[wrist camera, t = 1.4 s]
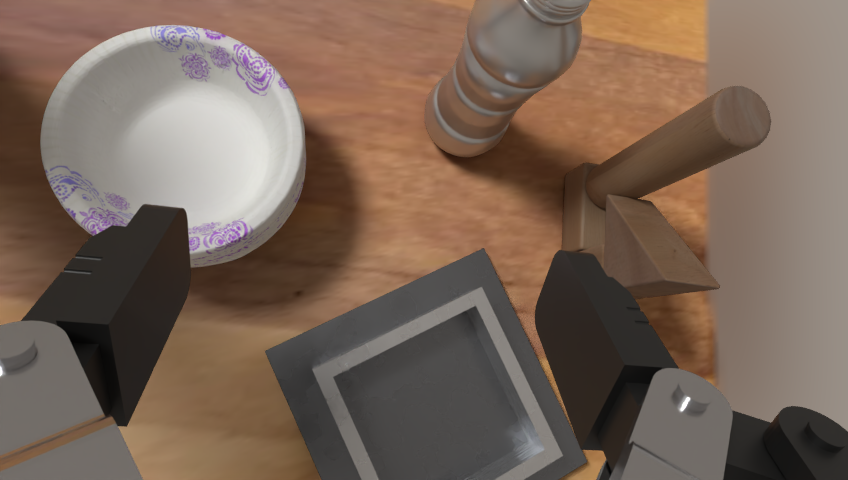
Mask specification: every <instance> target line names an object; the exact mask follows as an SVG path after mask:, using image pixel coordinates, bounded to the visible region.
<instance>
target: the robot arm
mask: <svg viewBox="0 0 848 480" xmlns="http://www.w3.org/2000/svg"><path fill="white" fill-rule="evenodd" d="M190 279H191V264H190V249H189V235H188V220H187V213H186V211H185V209H184V208H178V207H169V206H160V205H151V204H143V205H142V206H141V207H140V208H139V210H138V211H137V212H136V214H135V215H134V216H133V218H132V219H131V220H130V222H129V223H128V225H127V226H116V225H112V226H110V227H108V228H107V229H105V230H103V231H101V232H99V233H98V234H96V235H94V236H92V237H91V238H89V239H88V240H87V242H86V243H85V244H84V245H83V246H82V248H81V249H80V250H79V251H78V253H77V254H76V257H75V258H73V259H72V260H71V261H70V262H69V263H68V265H67V266H66V267H65V268H64V272H61V273H60V274H59V276H58V277H57V278H56V279H55V280H54V282H53V283H52V284H51V285H50V286H49V288H48V289H47V290H46V291H45V293H44V294H43V295H42V296H41V297H40V299H39V300H38V301H37V302H36V303H35V305H34V306H33V307H32V308H31V309H30V311H29V312H28V313H27V314H26V316H25V317H24V318H23V319H22V320H21V321H19V322H12V323H8V324H4V325H0V480H143V479H142V477H141V475H140V472H139V470H138V468H137V466H136V464H135V462H134V460H133V458H132V456H131V453H130V451H129V449H128V447H127V445H126V443H125V441H124V439H123V437H122V435H121V432H120V430H119V428H118V426H127V425H128V423H129V421H130V419H131V416H132V414H133V412H134V410H135V408H136V406H137V404H138V401H139V399H140V397H141V395H142V393H143V391H144V388H145V386H146V384H147V382H148V380H149V378H150V376H151V373H152V371H153V369H154V367H155V365H156V363H157V360H158V358H159V356H160V354H161V352H162V350H163V348H164V345H165V343H166V341H167V339H168V337H169V335H170V333H171V330H172V328H173V326H174V324H175V322H176V320H177V317H178V315H179V313H180V311H181V309H182V307H183V305H184V302H185V300H186V298H187V295H188V291H189V286H190ZM535 325H536V330H537V333H538V335H539V338H540V341H541V343H542V346H543V349H544V352H545V354H546V357H547V360H548V362H549V365H550V368H551V370H552V373H553V376H554V379H555V381H556V384H557V387H558V389H559V392H560V395H561V398H562V400H563V403H564V406H565V408H566V411H567V414H568V417H569V419H570V422H571V425H572V427H573V430H574V433H575V436H576V438H577V441H578V444H579V446H580V449H581V450H601V451H603V452H604V454H605V456H606V461H605V463H604V465H603V466H602V468H601V470H600V472H599V475H598V477H597V480H848V432H847V431H846V430H845V429H844V428H842V427H841V426H840V425H839V424H837V423H836V422H834V421H833V420H831V419H829V418H828V417H826V416H824V415H822V414H820V413H818V412H815V411H813V410H810V409H807V408H803V407H796V406H791V407H786V408H784V409H782V410H781V411H780V413H779V414H778V415H777V416H776V418H775V419H774V420H773V422H772V423H770V422H767V421H763V420H760V419H757V418H754V417H751V416H748V415H745V414H742V413H738V412H735V411H732V409H731V407H730V404H729V402H728V401H727V399H726V398H725V397H724V395H723V394H722V393H721V392H720V391H719V390H718V389H717V388H716V387H715V386H713V385H712V384H711V383H709V382H708V381H706V380H705V379H703V378H702V377H700V376H698V375H696V374H694V373H691V372H688V371H685V370H682V369H679V368H678V366H677V365H676V363H675V362H674V360H673V359H672V357H671V356H670V354H669V352H668V351H667V349H666V348H665V346H664V345H663V343H662V341H661V340H660V338H659V337H658V335H657V334H656V332H655V330H654V329H653V327H652V326H651V325H649V321H648V319H647V318H646V316H645V315H644V313H643V312H641V311H640V307H639V305H638V304H637V302H636V301H635V299H634V297H633V296H632V294H631V293H630V292H629V291H628V290H627V289H626V288H625V287H624V286H622V285H621V284H620V283H619V282H618V281H617V280H615V279H614V278H613V277H608V276H607V275H606V273H605V271H604V270H603V268H602V266H601V265H600V263H599V261H598V260H597V258H596V257H595V255H594V254H592V253H584V252H575V251H565V250H559V251H558V252H557V253H556V254H555V256H554V258H553V260H552V263H551V266H550V269H549V271H548V274H547V277H546V279H545V282H544V285H543V288H542V290H541V293H540V296H539V298H538V301H537V305H536V310H535Z"/></svg>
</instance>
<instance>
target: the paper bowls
mask: <svg viewBox="0 0 848 480" xmlns="http://www.w3.org/2000/svg"><path fill="white" fill-rule="evenodd" d="M40 147H41V156H42V163H43V166H44V169H45V172H46V176H47V179H48V181H49V183H50V186H51V188H52V190H53V192H54V194H55V195H56V197H57V199H58V200H59V202H60V203H61V205H62V206H63V208H64V209H65V210H66V212H67V213H68V214H69V215H70V216H71V217H72V218H73V219H74V220H75V222H77V223H78V224H79V225H80V226H81V227H82V228H83V229H85V230H86V231H87V232H88V233H89V234H91V235H92V236H94V235H96V234H98V233H99V232H101V231H103V230H105V229H107V228H108V227H110V226H112V225H116V226H127V225H128V223H129V222H130V220H131V219H132V218H133V216H134V215H135V214H136V212H137V211H138V210H139V208H140V207H141V206H142V205H143V204H151V205H160V206H169V207H178V208H184V209H185V211H186V213H187V220H188V235H189V249H190V264H191V267H204V266H210V265H215V264H221V263H225V262H229V261H233V260H236V259H238V258H240V257H242V256H244V255H246V254H248V253H250V252H251V251H253V250H255V249H256V248H258V247H259V246H261V245H262V244H264V243H265V242H266V241H267V240H269V239H270V238H271V237H272V236H273V235H274V234H275V233H276V232H277V231H278V230H279V229H280V228H281V227H282V226H283V224H284V223H285V222H286V220H287V219H288V217H289V216H290V214H291V213H292V211H293V210H294V208H295V206H296V204H297V202H298V200H299V197H300V194H301V191H302V188H303V183H304V179H305V170H306V149H305V127H304V122H303V117H302V114H301V111H300V108H299V105H298V103H297V100H296V98H295V96H294V94H293V92H292V90H291V89H290V87H289V86H288V84H287V83H286V81H285V80H284V78H283V77H282V76H281V75H280V73H279V72H278V71H277V70H276V68H275V67H274V66H273V65H271V64H270V63H269V62H268V61H267V60H266V59H265V58H264V57H262V56H261V55H260V54H259V53H257V52H256V51H254V50H253V49H252V48H250V47H248V46H247V45H245V44H243V43H242V42H239V41H237V40H235V39H233V38H231V37H229V36H226V35H224V34H221V33H218V32H215V31H211V30H208V29H203V28H198V27H191V26H179V25H165V26H153V27H146V28H141V29H137V30H133V31H129V32H126V33H123V34H121V35H118V36H115V37H113V38H111V39H109V40H107V41H105V42H103V43H101V44H99V45H98V46H96V47H95V48H93V49H92V50H90V51H89V52H87V53H86V54H85V55H83V56H82V57H81V58H80V59H79V60H77V61H76V62H75V63H74V64H73V65H72V67H71V68H70V69H69V70H68V71H67V72H66V73H65V74H64V76H63V77H62V78H61V80H60V81H59V83H58V85H57V86H56V88H55V89H54V91H53V93H52V95H51V97H50V99H49V101H48V104H47V107H46V109H45V113H44V117H43V122H42V127H41V138H40Z"/></svg>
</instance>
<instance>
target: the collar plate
mask: <svg viewBox="0 0 848 480" xmlns="http://www.w3.org/2000/svg"><path fill="white" fill-rule="evenodd" d="M265 353H266V355H267V357H268V359H269V362H270V364H271V366H272V368H273V371H274V373H275V375H276V377H277V380H278V382H279V384H280V387H281V389H282V391H283V393H284V396H285V398H286V400H287V402H288V405H289V407H290V409H291V411H292V414H293V416H294V418H295V420H296V423H297V425H298V427H299V430H300V432H301V434H302V436H303V439H304V441H305V443H306V445H307V448H308V450H309V452H310V454H311V457H312V459H313V461H314V463H315V466H316V468H317V470H318V473H319V475H320V477H321V479H322V480H559V479H560V478H562V477H563V476H565V475H567V474H568V473H570V472H571V471H573V470H575V469H576V468H578V467H580V466H581V465H583V464H584V463H586V462H587V460H586V458H585V456H584V454H583V452H582V450H581V449H580V446H579V444H578V441H577V439H576V437H575V435H574V433H573V431H572V429H571V427H570V425H569V423H568V421H567V419H566V417H565V415H564V412H563V410H562V408H561V406H560V404H559V402H558V400H557V398H556V396H555V394H554V392H553V390H552V388H551V386H550V384H549V382H548V380H547V377H546V375H545V373H544V371H543V369H542V367H541V365H540V363H539V361H538V359H537V357H536V355H535V353H534V351H533V349H532V347H531V344H530V342H529V340H528V338H527V336H526V334H525V332H524V330H523V328H522V326H521V324H520V322H519V320H518V318H517V316H516V314H515V311H514V309H513V307H512V305H511V303H510V301H509V299H508V297H507V295H506V293H505V291H504V289H503V287H502V285H501V283H500V281H499V279H498V276H497V274H496V272H495V270H494V268H493V266H492V264H491V262H490V260H489V258H488V256H487V254H486V252H485V250H484V248H483V249H481V250H479V251H477V252H475V253H472V254H470V255H468V256H466V257H464V258H462V259H460V260H458V261H455V262H453V263H451V264H449V265H447V266H445V267H443V268H441V269H438V270H436V271H434V272H432V273H430V274H428V275H426V276H424V277H421V278H419V279H417V280H415V281H413V282H411V283H409V284H407V285H404V286H402V287H400V288H398V289H396V290H394V291H392V292H389V293H387V294H385V295H383V296H381V297H379V298H377V299H375V300H372V301H370V302H368V303H366V304H364V305H362V306H360V307H358V308H355V309H353V310H351V311H349V312H347V313H345V314H343V315H341V316H338V317H336V318H334V319H332V320H330V321H328V322H326V323H324V324H321V325H319V326H317V327H315V328H313V329H311V330H309V331H307V332H304V333H302V334H300V335H298V336H296V337H294V338H292V339H290V340H287V341H285V342H283V343H281V344H279V345H277V346H275V347H273V348H270V349H268V350H266V351H265Z"/></svg>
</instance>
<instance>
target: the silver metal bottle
mask: <svg viewBox="0 0 848 480" xmlns="http://www.w3.org/2000/svg"><path fill="white" fill-rule="evenodd" d="M590 1H591V0H476V1H475V3H474V5H473V8H472V11H471V14H470V16H469V19H468V23H467V27H466V31H465V35H464V40H463V44H462V47H461V49H460V52H459V54H458V57H457V59H456V62H455V64H454V65H453V66H452V68H451V69H450V71H449V72H448V73H447V75H446V76H444V77H443V78H442V79H441V80H440V81H439V82H438V83H437V84H436V85H435V86H434V88H433V89H432V90H431V92H430V93H429V95H428V98H427V100H426V106H425V114H424V118H425V125H426V129H427V132H428V134H429V136H430V137H431V139H432V140H433V141H434V143H435V144H436V145H438V146H439V147H440V148H441V149H442V150H444V151H446V152H447V153H450V154H452V155H455V156H459V157H473V156H477V155H480V154H482V153H485V152H487V151H489V150H490V149H492V148H493V147H495V146H496V145H497V144H498V143H499V142H500V141H501V139H502V137H503V136H504V134H505V132H506V130H507V128H508V126H509V123H510V120H511V119H512V117H513V116H514V114H515V113H516V111H517V110H518V108H520V107H521V106H522V105H523V104H524V103H525V102H526V101H527V100H528V99H529V98H530V97H531V96H533V95H534V94H535V93H537V92H538V91H540V90H541V89H543V88H544V87H546V86H547V85H549V84H550V83H552V82H553V81H555V80H556V79H558V78H559V77H560V76H561V75H562V74H564V73H565V72H566V71H567V70H568V69H569V68H570V67H571V65H572V63H573V62H574V60H575V58H576V55H577V52H578V49H579V46H580V43H581V40H582V24H581V16H582V14H583V13H584V12H585V10H586V9H587V7H588V5H589V2H590Z"/></svg>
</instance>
